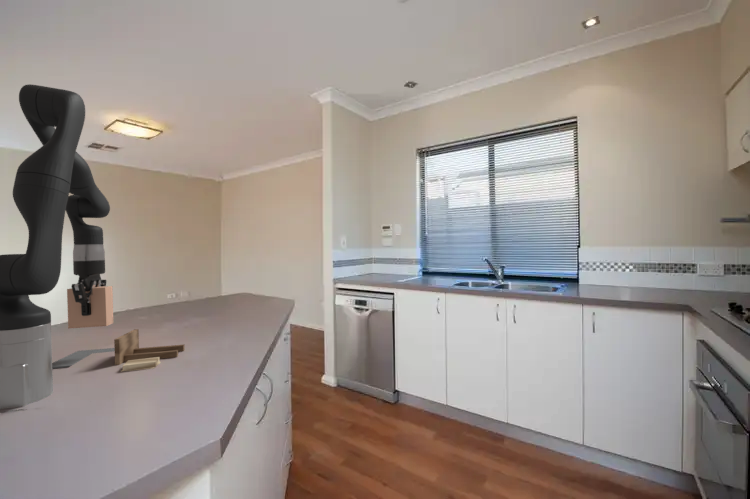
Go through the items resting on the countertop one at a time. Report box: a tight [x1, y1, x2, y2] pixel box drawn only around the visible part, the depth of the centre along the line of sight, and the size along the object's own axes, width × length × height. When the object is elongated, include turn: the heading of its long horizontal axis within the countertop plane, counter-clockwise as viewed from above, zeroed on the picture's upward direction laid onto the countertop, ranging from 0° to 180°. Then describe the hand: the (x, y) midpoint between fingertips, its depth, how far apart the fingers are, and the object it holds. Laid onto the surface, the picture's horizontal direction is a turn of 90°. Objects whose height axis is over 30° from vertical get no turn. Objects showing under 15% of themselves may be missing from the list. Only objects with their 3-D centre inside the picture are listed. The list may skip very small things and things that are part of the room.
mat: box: [52, 347, 115, 370], centre depth 103 cm, size 16×16×1 cm
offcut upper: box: [122, 357, 161, 372], centre depth 93 cm, size 5×8×2 cm, turn 112°
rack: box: [113, 328, 185, 366], centre depth 102 cm, size 12×15×8 cm
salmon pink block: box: [66, 285, 114, 329], centre depth 103 cm, size 4×10×12 cm, turn 103°
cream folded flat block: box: [119, 361, 162, 372], centre depth 93 cm, size 5×8×2 cm, turn 104°
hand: (91, 313), depth 103 cm, fingers closed on salmon pink block, 4 cm apart
